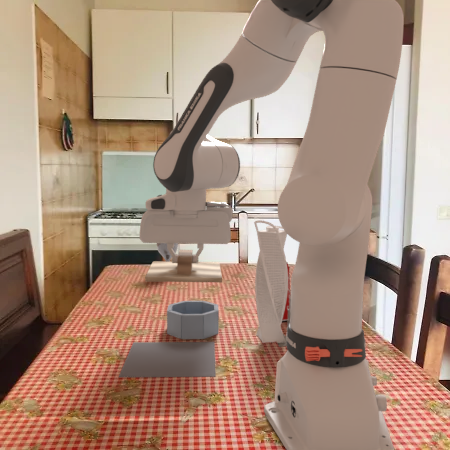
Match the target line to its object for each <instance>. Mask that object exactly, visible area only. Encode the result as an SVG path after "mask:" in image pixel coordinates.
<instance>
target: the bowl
mask: <svg viewBox="0 0 450 450" xmlns="http://www.w3.org/2000/svg"><path fill="white" fill-rule="evenodd" d="M219 313H220V311H219V304H217V303H213V302H210V301H206V300H183V301H182V300H181V301H178V302H174V303H170V304H169V305H168V306H167V308H166V329H167V330H166V334H167V335H170V336H172V337H175V338H178V339H180V340H205V339H207V338H211V337H212V336H216V335H219V327H220V326H219V323H220V322H219V319H220V318H219V316H220V315H219Z"/></svg>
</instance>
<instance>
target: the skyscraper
mask: <svg viewBox="0 0 450 450" xmlns="http://www.w3.org/2000/svg"><path fill="white" fill-rule="evenodd" d="M253 223H254V226H255V229H256V231H255V232H256V236H257V240H258V241H257V242H258V247H259V253H258V256H257V257H258V258H257V261H256V262H257V263H256V268H255V269H256V270H255V279H254V280H255V282H254V283H255V284H254V285H255V287H254V289H255V290H254V291H255V306H256V313H257V320H258V321H257V322H258V329H257V331H256V334H255V336H257V338H259V340H260V341H261V343H262V344H264V343H271V344H272V343H273V342H276V343H277V345H278V347H280V348H281V347H287V340H286V335H285V334H284V333H283V330H282V329H283V328H282V326H281V325H282V322H283V321H282V319H283V315H284V311H285V306H286V300H287V292H288V269H287V263H286V262H287V258H286V255H285V244H286V240H287V235H288V234H287V233H286V232H285V230H284V229H283V227H282V226H281V225H274V224H273V223H272V222H269V221H265V220H261V219H260V220H255V221H254V222H253ZM258 223H260V224H261V223H262V224H266V225H267V226H266V227H265V228H266V229H261V230H259V227H258ZM289 299H290V301H289V309H288V320H287V326H286V328H287V327H288V325H289V323H290V306H291V294H290V298H289Z"/></svg>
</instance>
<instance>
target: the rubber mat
mask: <svg viewBox="0 0 450 450" xmlns="http://www.w3.org/2000/svg"><path fill="white" fill-rule="evenodd" d="M215 343H216V342H215V341H157V342H156V341H152V342H151V341H147V342H146V341H145V342H143V341H137V342H136V341H135V342H134V341H133V343H132V345H131V347H130V350H129V352H128V355H127V356H126V357H125V358H126V359H125V361H124V363H123V366H122V368H121V371H120V372H119V375H118V378H200V377H201V378H203V377H204V378H206V377H210V378H211V377H212V378H213V377H215V378H216V377H217V375H216V372H217V371H216V347H215V346H216V345H215Z"/></svg>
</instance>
